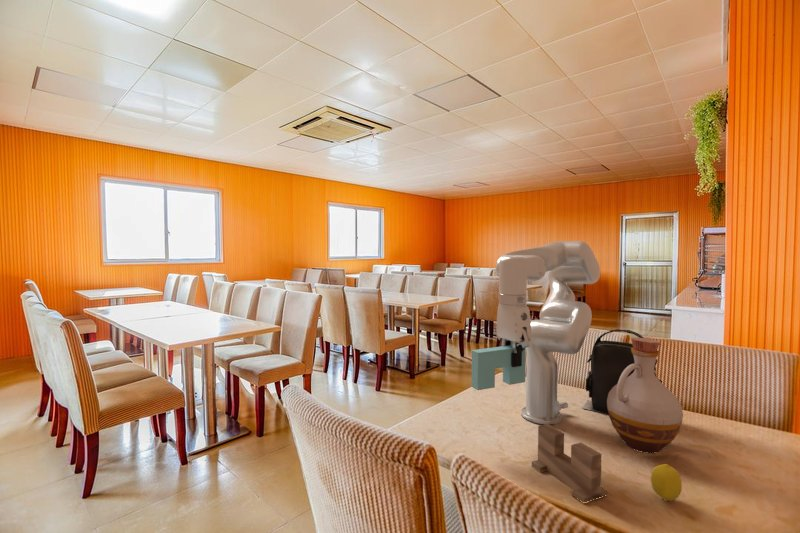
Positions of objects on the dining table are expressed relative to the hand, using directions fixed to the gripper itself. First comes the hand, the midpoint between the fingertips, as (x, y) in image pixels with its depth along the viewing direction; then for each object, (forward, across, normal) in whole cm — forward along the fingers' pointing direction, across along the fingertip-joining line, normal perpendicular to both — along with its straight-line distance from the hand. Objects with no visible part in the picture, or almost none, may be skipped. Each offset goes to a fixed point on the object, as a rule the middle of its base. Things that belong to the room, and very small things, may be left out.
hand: (512, 364), depth 112 cm
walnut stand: (+22, -21, +1) cm, 30 cm away
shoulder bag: (+23, +1, -46) cm, 51 cm away
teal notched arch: (+5, 0, +4) cm, 7 cm away
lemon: (+22, -35, -13) cm, 44 cm away
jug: (+22, -17, -30) cm, 41 cm away
